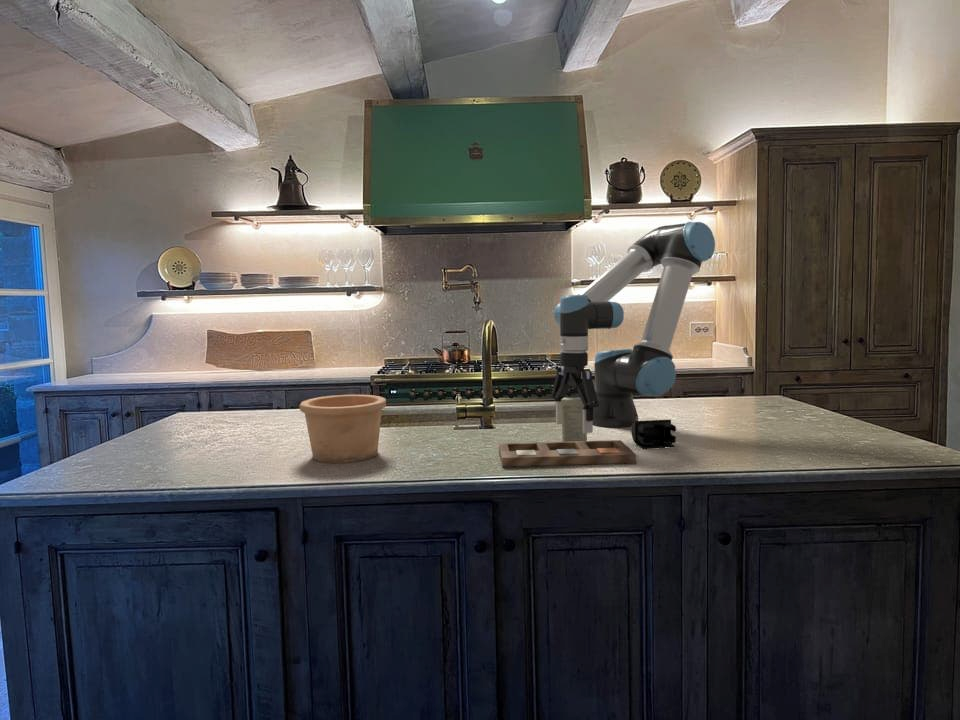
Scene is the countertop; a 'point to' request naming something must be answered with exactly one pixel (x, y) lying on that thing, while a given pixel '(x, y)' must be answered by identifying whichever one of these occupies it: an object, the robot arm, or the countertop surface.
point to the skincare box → (572, 419)
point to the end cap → (653, 433)
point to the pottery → (343, 427)
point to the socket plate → (565, 454)
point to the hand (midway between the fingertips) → (573, 428)
